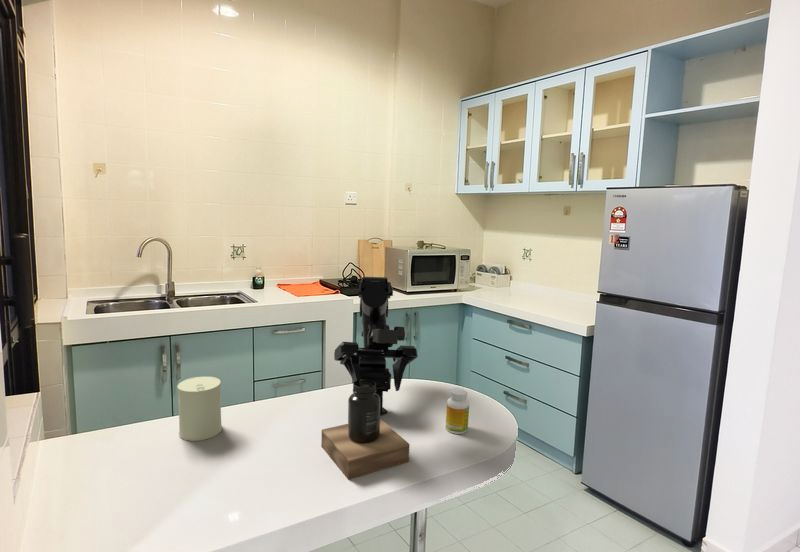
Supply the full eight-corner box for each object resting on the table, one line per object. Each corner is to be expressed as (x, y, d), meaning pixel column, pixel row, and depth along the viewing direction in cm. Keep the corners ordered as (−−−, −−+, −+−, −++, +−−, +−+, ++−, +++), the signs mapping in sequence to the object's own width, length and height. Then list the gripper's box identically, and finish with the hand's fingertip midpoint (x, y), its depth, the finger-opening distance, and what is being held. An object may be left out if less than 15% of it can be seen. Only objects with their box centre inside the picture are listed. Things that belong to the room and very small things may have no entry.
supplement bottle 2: (466, 436, 113) (469, 397, 111) (444, 433, 114) (446, 394, 112) (468, 425, 118) (470, 388, 117) (446, 422, 119) (448, 385, 118)
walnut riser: (321, 446, 106) (321, 429, 105) (377, 432, 113) (377, 416, 112) (348, 479, 94) (348, 460, 93) (408, 461, 101) (409, 444, 100)
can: (180, 444, 104) (178, 392, 102) (177, 426, 112) (175, 377, 110) (224, 436, 108) (223, 386, 107) (219, 419, 117) (218, 372, 115)
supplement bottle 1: (378, 428, 106) (380, 377, 105) (380, 444, 100) (382, 389, 98) (347, 428, 106) (348, 377, 104) (347, 444, 99) (348, 389, 97)
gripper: (347, 308, 104) (350, 379, 97) (424, 315, 111) (432, 381, 104) (333, 326, 113) (334, 392, 106) (405, 332, 120) (410, 394, 113)
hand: (378, 390), depth 107 cm, fingers open, 9 cm apart
